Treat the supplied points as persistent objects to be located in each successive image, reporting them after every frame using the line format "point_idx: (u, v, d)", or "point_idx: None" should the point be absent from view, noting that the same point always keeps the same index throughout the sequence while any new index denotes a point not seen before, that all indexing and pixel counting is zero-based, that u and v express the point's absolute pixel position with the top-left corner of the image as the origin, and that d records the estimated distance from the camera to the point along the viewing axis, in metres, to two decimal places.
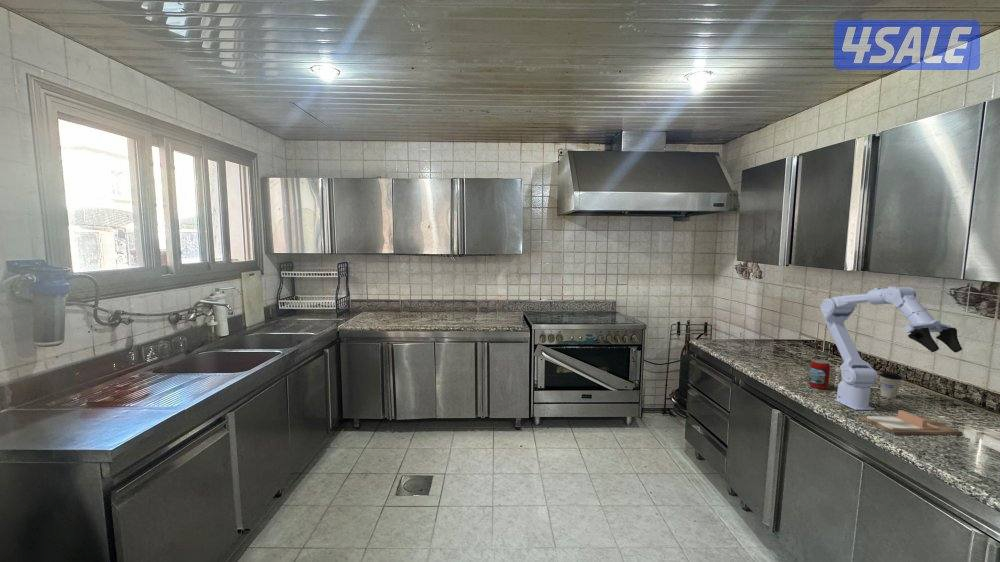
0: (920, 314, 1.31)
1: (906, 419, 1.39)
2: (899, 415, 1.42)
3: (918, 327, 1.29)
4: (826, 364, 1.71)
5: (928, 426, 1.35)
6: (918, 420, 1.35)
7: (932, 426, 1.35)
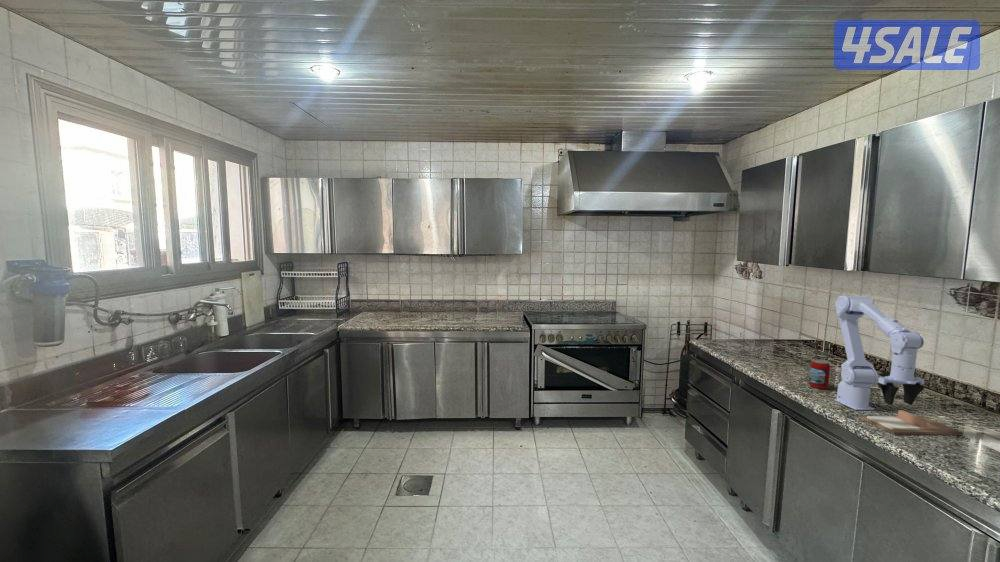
0: (904, 371, 1.34)
1: (906, 419, 1.39)
2: (899, 415, 1.42)
3: None
4: (826, 364, 1.71)
5: (928, 426, 1.35)
6: (918, 420, 1.35)
7: (932, 426, 1.35)
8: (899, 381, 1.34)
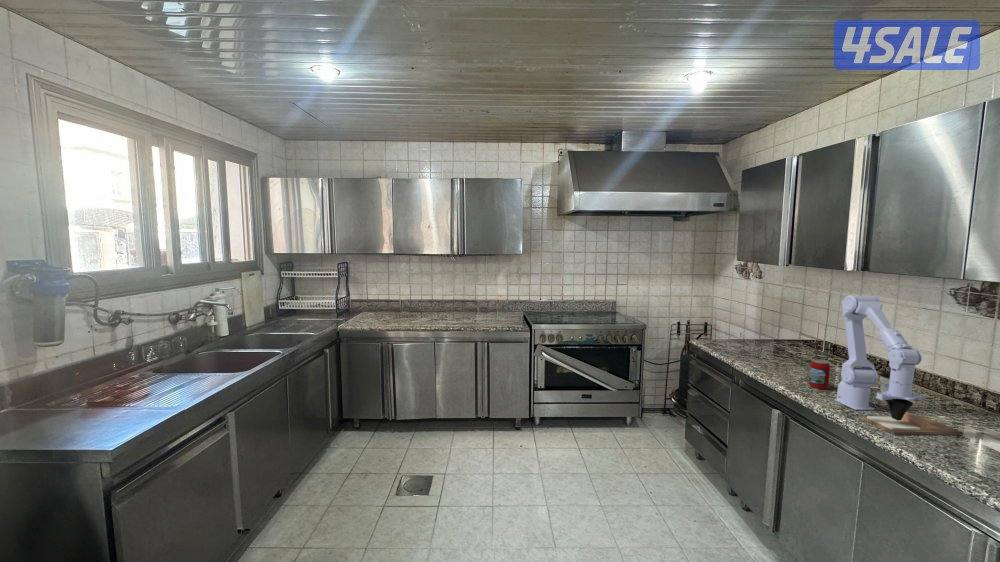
0: (902, 387, 1.34)
1: (906, 419, 1.39)
2: None
3: None
4: (826, 364, 1.71)
5: (928, 426, 1.35)
6: (918, 420, 1.35)
7: (932, 426, 1.35)
8: (897, 397, 1.35)
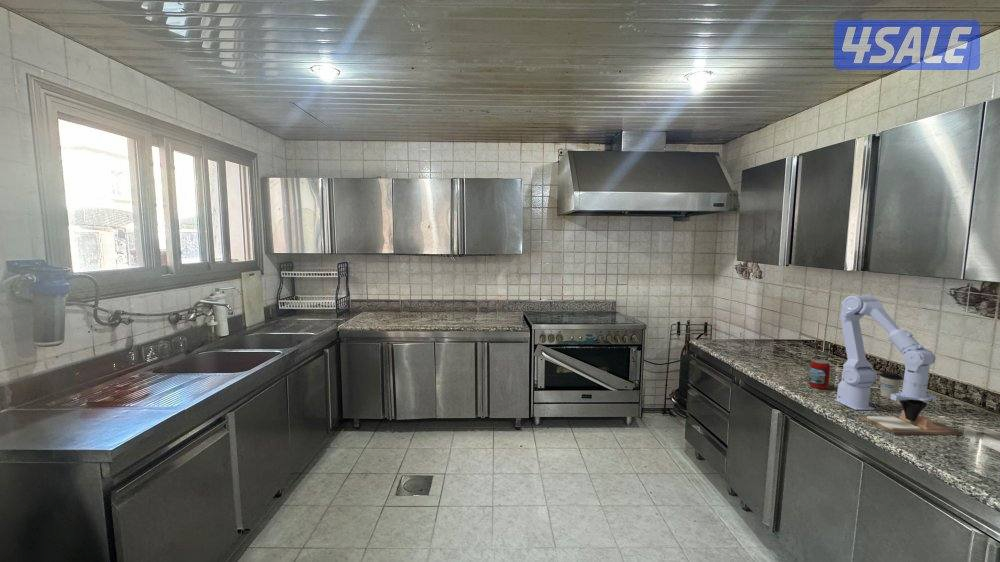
0: (917, 388, 1.35)
1: None
2: (903, 415, 1.42)
3: None
4: (826, 364, 1.71)
5: (932, 426, 1.35)
6: (922, 420, 1.35)
7: (936, 426, 1.35)
8: (911, 398, 1.35)
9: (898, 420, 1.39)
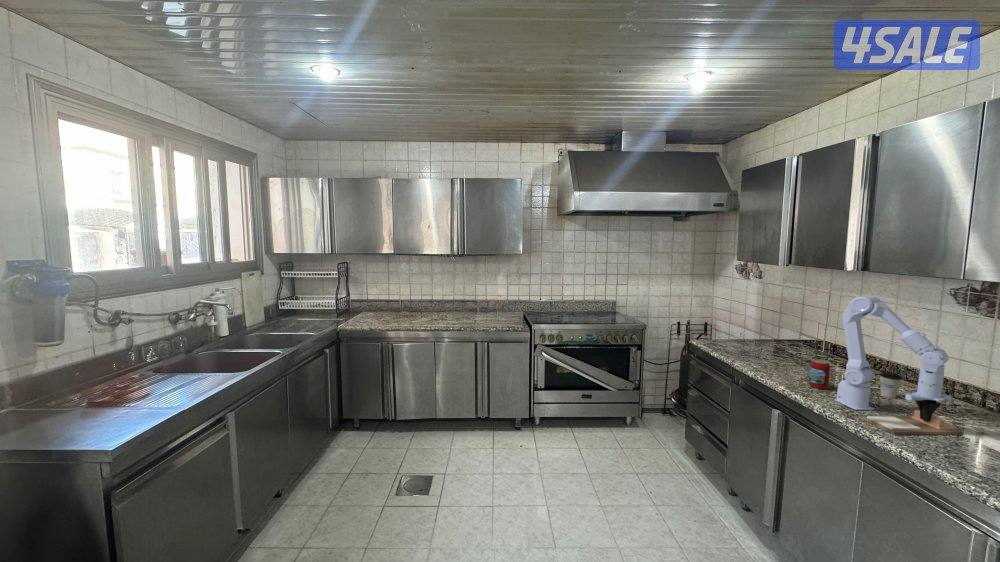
0: (932, 388, 1.35)
1: None
2: (915, 415, 1.42)
3: None
4: (826, 364, 1.71)
5: (945, 426, 1.35)
6: (935, 420, 1.36)
7: (949, 426, 1.35)
8: (927, 398, 1.35)
9: (898, 420, 1.39)
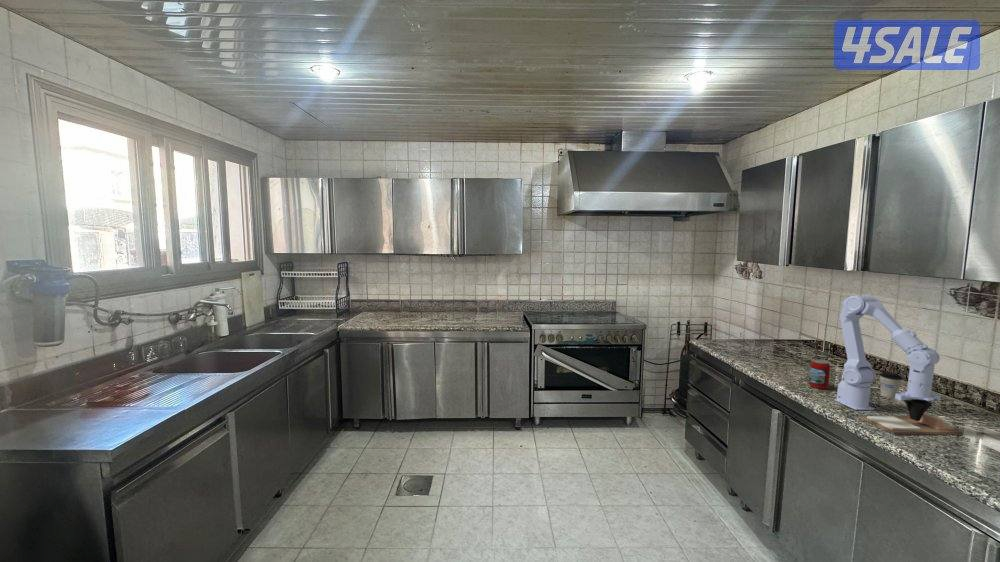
0: (921, 387, 1.35)
1: (921, 419, 1.39)
2: None
3: (909, 397, 1.37)
4: (826, 364, 1.71)
5: (943, 426, 1.35)
6: (933, 420, 1.36)
7: (947, 426, 1.35)
8: (916, 398, 1.35)
9: (898, 420, 1.39)
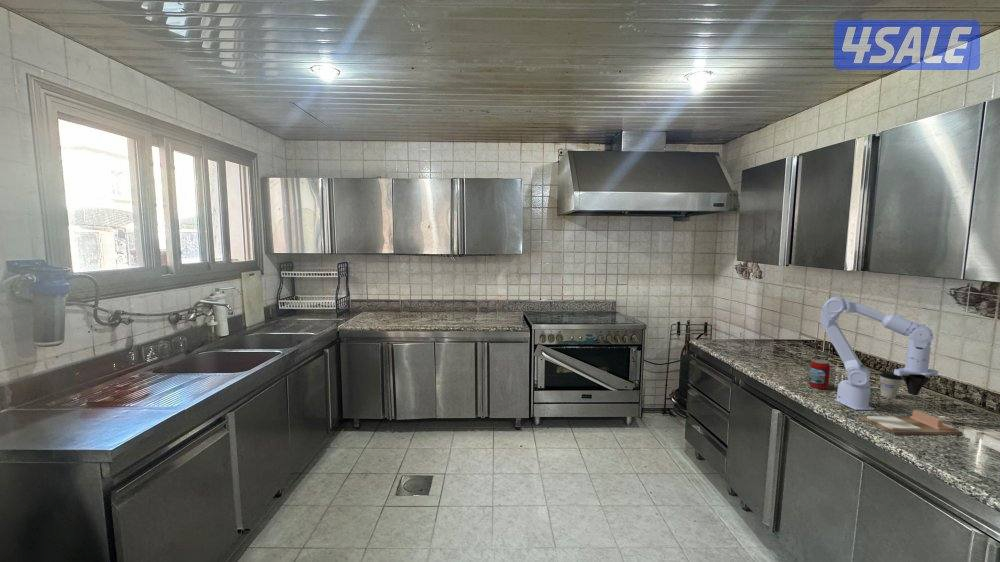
0: (919, 363, 1.40)
1: (921, 419, 1.39)
2: (914, 415, 1.42)
3: (907, 372, 1.42)
4: (826, 364, 1.71)
5: (943, 426, 1.35)
6: (933, 420, 1.36)
7: (947, 426, 1.35)
8: (914, 372, 1.40)
9: (898, 420, 1.39)
